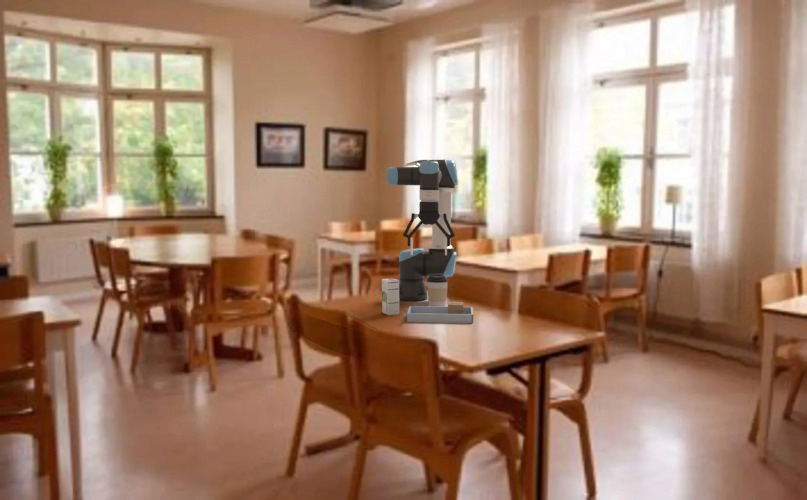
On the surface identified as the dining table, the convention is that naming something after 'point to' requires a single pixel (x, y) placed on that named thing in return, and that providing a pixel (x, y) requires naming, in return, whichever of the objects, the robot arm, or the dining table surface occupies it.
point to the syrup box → (390, 296)
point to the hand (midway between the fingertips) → (428, 254)
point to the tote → (438, 314)
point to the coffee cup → (437, 290)
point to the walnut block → (455, 307)
